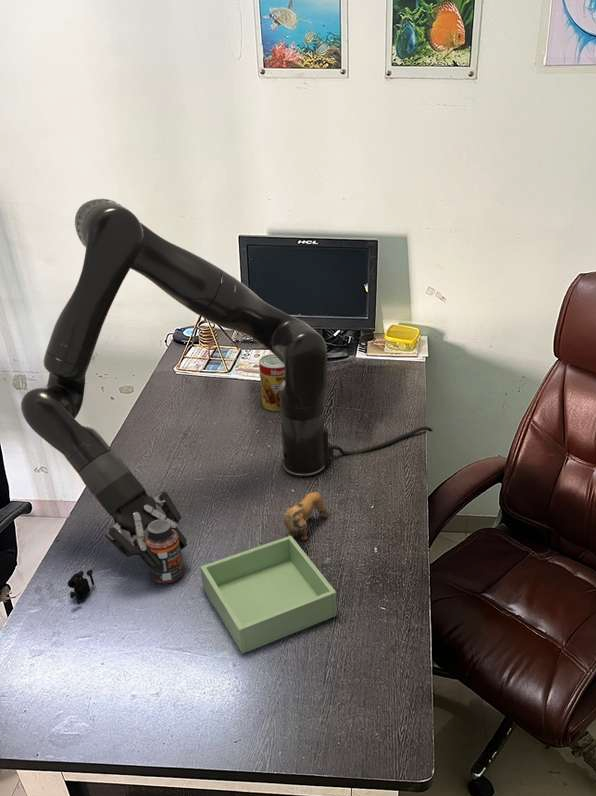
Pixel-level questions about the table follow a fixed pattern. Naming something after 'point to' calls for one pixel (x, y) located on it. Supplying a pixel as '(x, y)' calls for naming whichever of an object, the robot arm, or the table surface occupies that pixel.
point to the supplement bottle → (165, 551)
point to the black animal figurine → (80, 585)
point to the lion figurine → (303, 513)
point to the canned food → (271, 381)
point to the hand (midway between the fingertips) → (171, 557)
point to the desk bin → (268, 593)
